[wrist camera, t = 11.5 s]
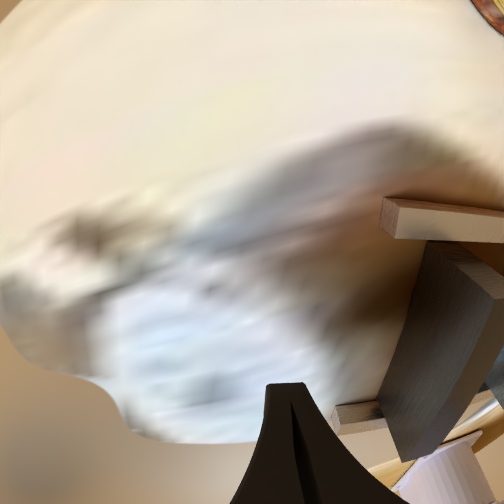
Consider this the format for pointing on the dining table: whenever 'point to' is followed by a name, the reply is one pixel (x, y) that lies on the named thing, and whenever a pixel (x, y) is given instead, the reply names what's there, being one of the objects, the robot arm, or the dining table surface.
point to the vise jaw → (444, 349)
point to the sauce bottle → (492, 12)
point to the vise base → (427, 228)
